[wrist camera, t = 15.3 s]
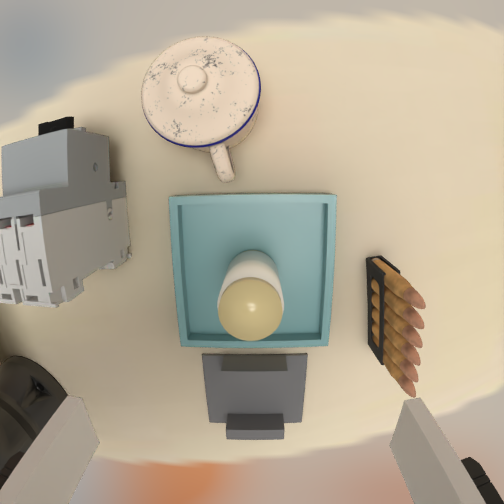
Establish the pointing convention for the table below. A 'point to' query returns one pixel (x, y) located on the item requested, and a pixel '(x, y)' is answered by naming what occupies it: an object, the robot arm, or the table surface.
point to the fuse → (251, 297)
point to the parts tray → (262, 239)
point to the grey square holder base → (255, 393)
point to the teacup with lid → (203, 97)
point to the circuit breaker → (58, 215)
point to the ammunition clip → (394, 321)
